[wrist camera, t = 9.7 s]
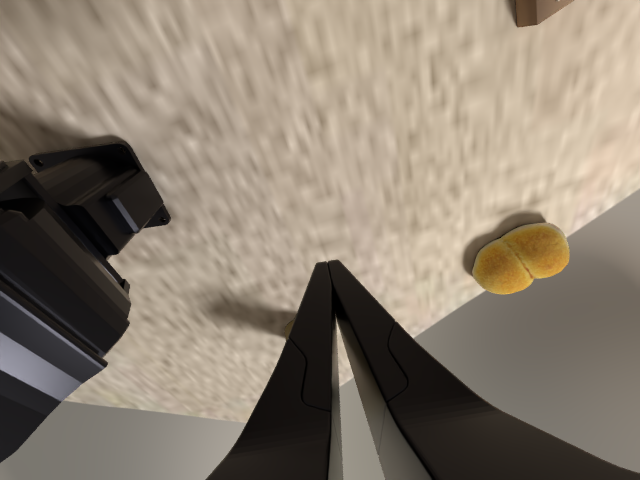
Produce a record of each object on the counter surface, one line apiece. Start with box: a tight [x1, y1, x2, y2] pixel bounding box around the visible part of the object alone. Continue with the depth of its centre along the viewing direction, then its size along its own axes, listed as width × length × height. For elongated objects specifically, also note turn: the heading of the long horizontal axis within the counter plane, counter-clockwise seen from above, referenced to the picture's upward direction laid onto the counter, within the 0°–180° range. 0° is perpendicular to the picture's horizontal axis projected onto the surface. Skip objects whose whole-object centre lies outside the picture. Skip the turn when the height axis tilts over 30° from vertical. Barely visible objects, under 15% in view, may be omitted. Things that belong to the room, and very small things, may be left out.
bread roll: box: [472, 223, 569, 294], centre depth 26 cm, size 8×9×4 cm
